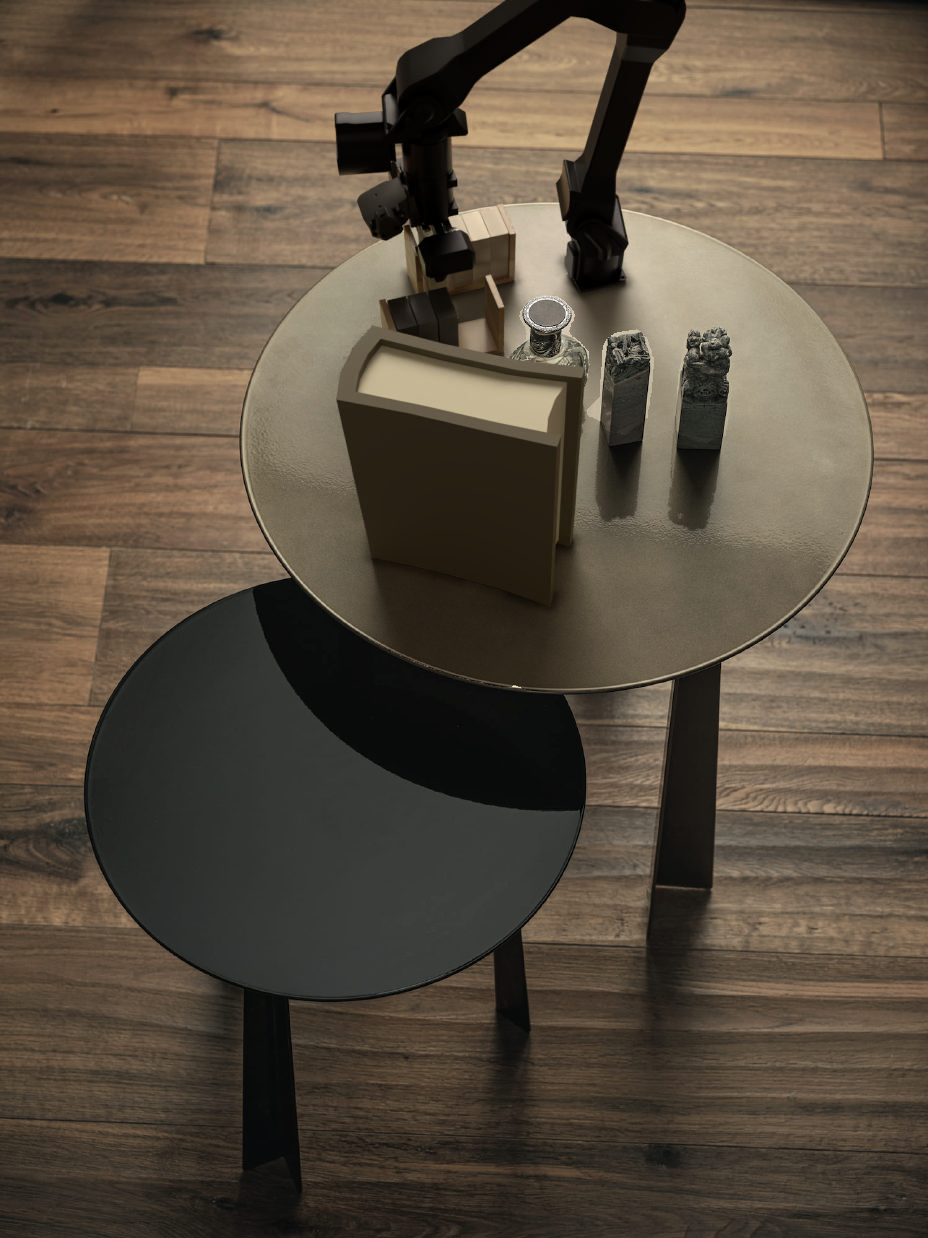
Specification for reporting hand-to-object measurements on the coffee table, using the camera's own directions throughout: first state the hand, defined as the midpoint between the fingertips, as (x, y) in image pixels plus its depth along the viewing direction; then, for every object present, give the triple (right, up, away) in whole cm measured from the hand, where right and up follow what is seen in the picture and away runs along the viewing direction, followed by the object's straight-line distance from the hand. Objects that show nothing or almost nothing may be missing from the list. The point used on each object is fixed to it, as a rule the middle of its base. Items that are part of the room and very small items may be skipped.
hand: (433, 266), depth 140 cm
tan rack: (+1, -11, -3) cm, 12 cm away
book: (+4, -37, -17) cm, 41 cm away
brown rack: (+3, 0, +3) cm, 4 cm away
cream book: (0, -1, +1) cm, 2 cm away
